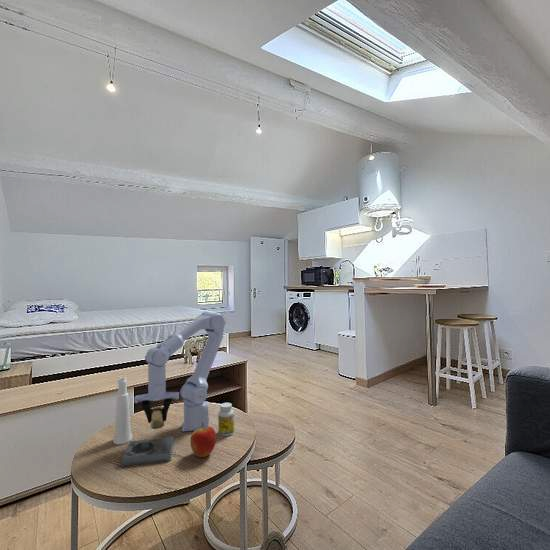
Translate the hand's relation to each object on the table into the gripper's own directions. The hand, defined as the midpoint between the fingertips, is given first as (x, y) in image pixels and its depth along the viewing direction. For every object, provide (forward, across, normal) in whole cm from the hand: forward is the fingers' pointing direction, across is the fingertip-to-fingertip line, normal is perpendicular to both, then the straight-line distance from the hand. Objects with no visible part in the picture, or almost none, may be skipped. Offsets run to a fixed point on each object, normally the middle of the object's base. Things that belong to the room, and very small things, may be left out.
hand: (157, 420), depth 110 cm
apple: (+7, +16, -13) cm, 22 cm away
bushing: (+2, 0, 0) cm, 2 cm away
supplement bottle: (+7, +24, 0) cm, 25 cm away
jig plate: (+7, -1, -9) cm, 11 cm away
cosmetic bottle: (+7, -12, +3) cm, 14 cm away
